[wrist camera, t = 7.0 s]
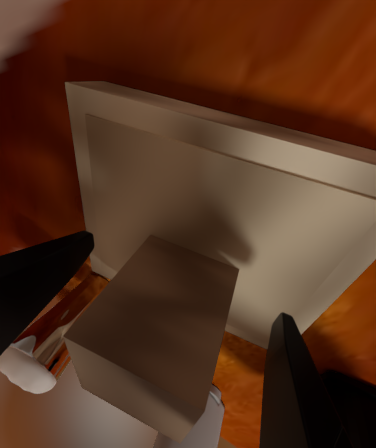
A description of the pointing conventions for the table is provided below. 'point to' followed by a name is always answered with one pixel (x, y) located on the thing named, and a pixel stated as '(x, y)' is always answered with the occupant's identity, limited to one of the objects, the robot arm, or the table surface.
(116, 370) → the walnut block
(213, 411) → the grey ridged slab
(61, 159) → the table surface
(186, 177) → the base
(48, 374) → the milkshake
